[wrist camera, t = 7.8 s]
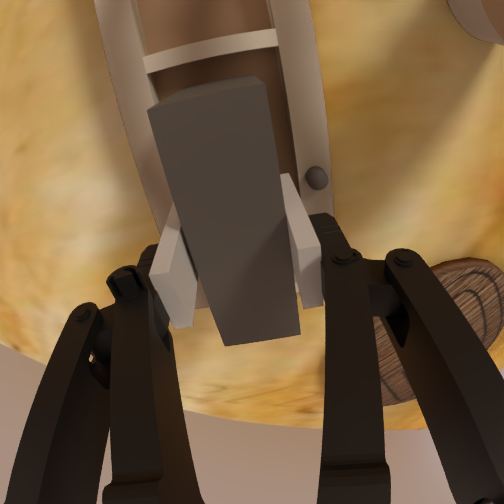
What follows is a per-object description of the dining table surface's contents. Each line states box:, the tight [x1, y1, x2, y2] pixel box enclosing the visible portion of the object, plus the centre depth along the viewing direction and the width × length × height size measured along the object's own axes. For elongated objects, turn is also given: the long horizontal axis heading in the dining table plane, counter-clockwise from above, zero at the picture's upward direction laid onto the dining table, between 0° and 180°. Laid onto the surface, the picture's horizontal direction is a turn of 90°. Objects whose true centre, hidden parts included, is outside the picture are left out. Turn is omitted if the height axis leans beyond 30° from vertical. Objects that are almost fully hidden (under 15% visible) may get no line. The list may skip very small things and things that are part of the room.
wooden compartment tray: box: [94, 0, 334, 309], centre depth 14 cm, size 11×34×4 cm, turn 10°
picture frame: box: [147, 74, 301, 346], centre depth 16 cm, size 4×12×8 cm, turn 10°
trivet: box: [373, 257, 504, 406], centre depth 32 cm, size 25×25×2 cm
